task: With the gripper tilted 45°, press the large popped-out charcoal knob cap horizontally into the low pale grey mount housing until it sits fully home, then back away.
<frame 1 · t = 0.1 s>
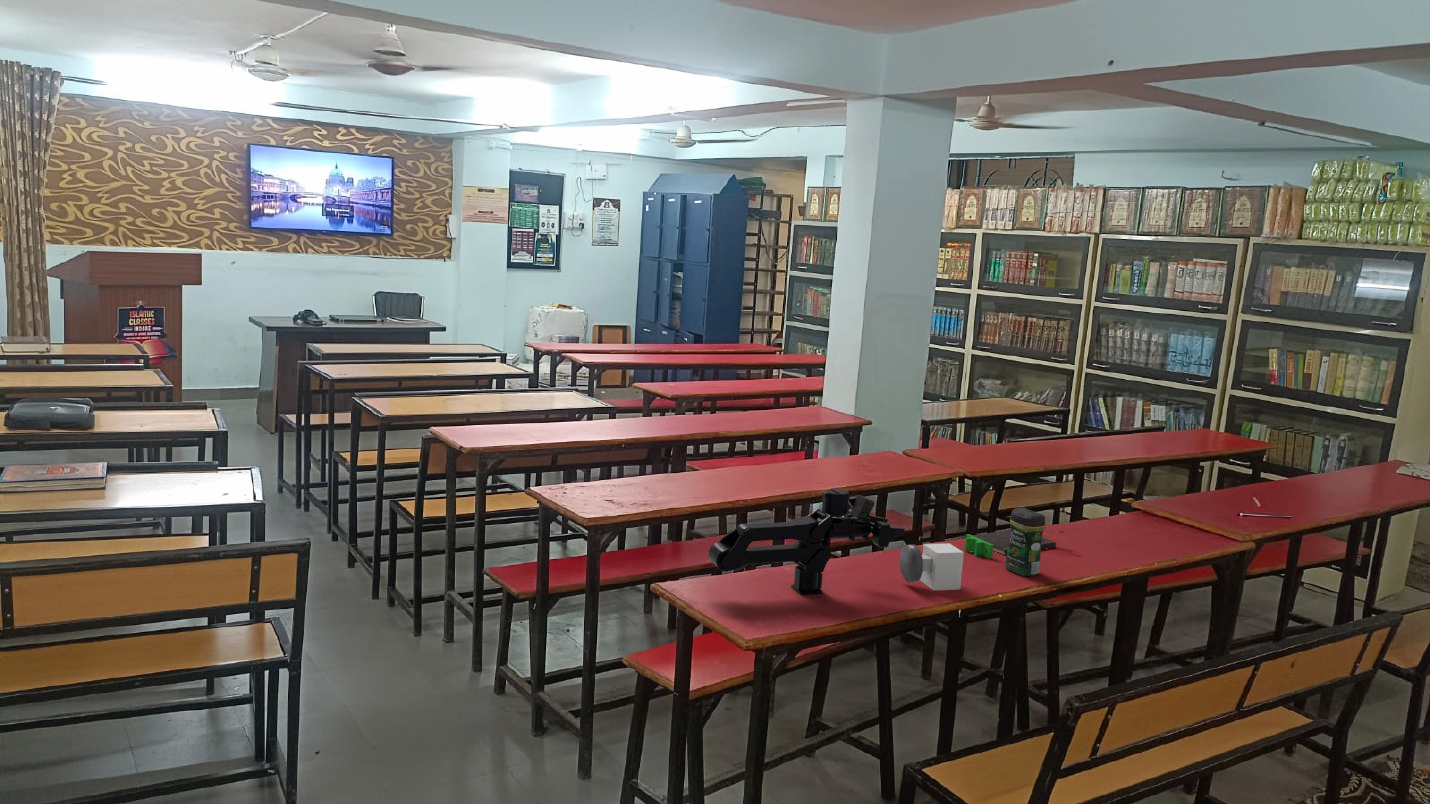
hand: (895, 525, 267), 17 cm above the table, tool horizontal, fingers open, 9 cm apart
mount housing: (926, 585, 270), on the table
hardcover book: (1011, 546, 313), on the table
coffee jar: (1021, 572, 286), on the table
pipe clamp: (974, 554, 302), on the table
knob: (919, 562, 268), point 7 cm above the table, slide at 4.0 cm
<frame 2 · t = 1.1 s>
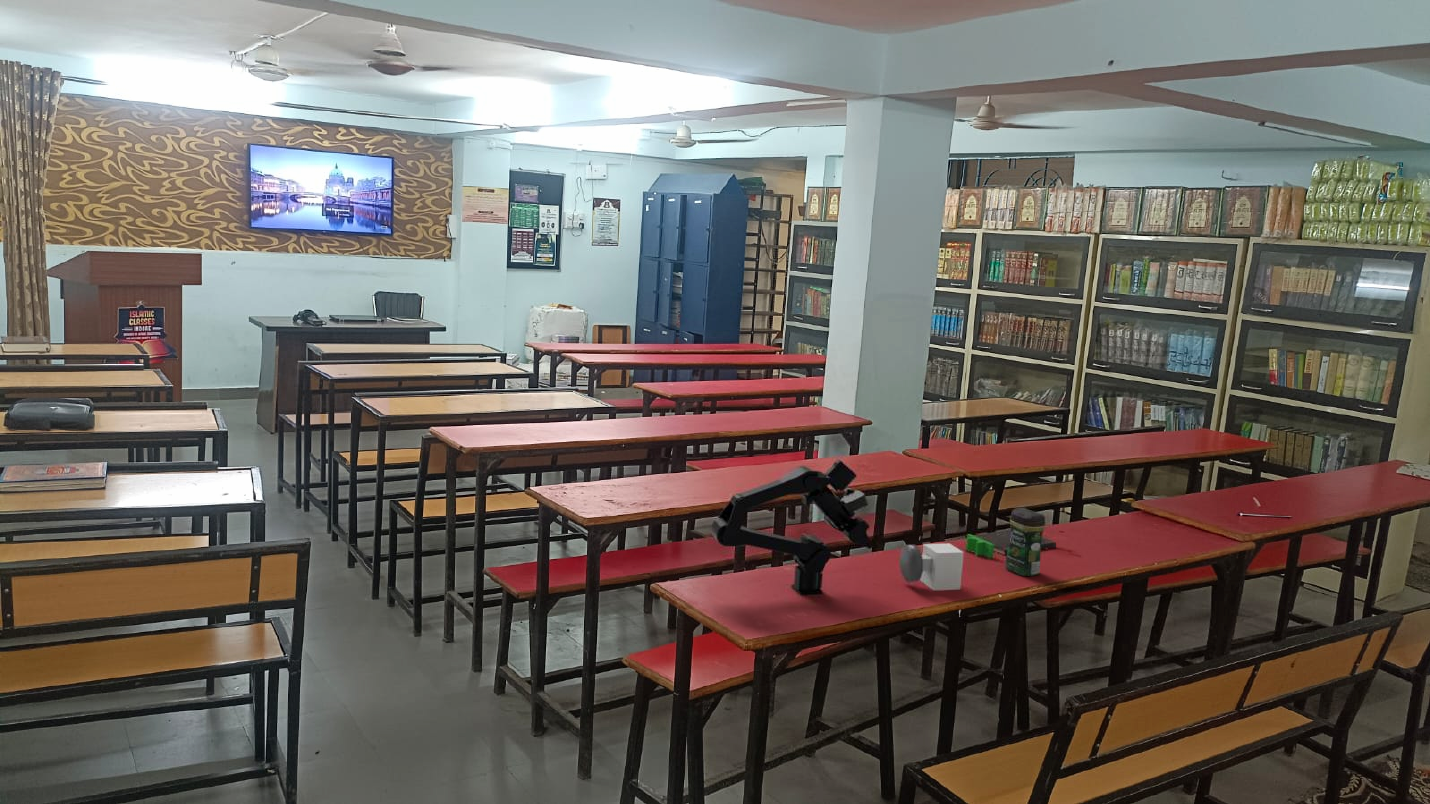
hand: (864, 542, 263), 13 cm above the table, tool tilted 45°, fingers open, 8 cm apart
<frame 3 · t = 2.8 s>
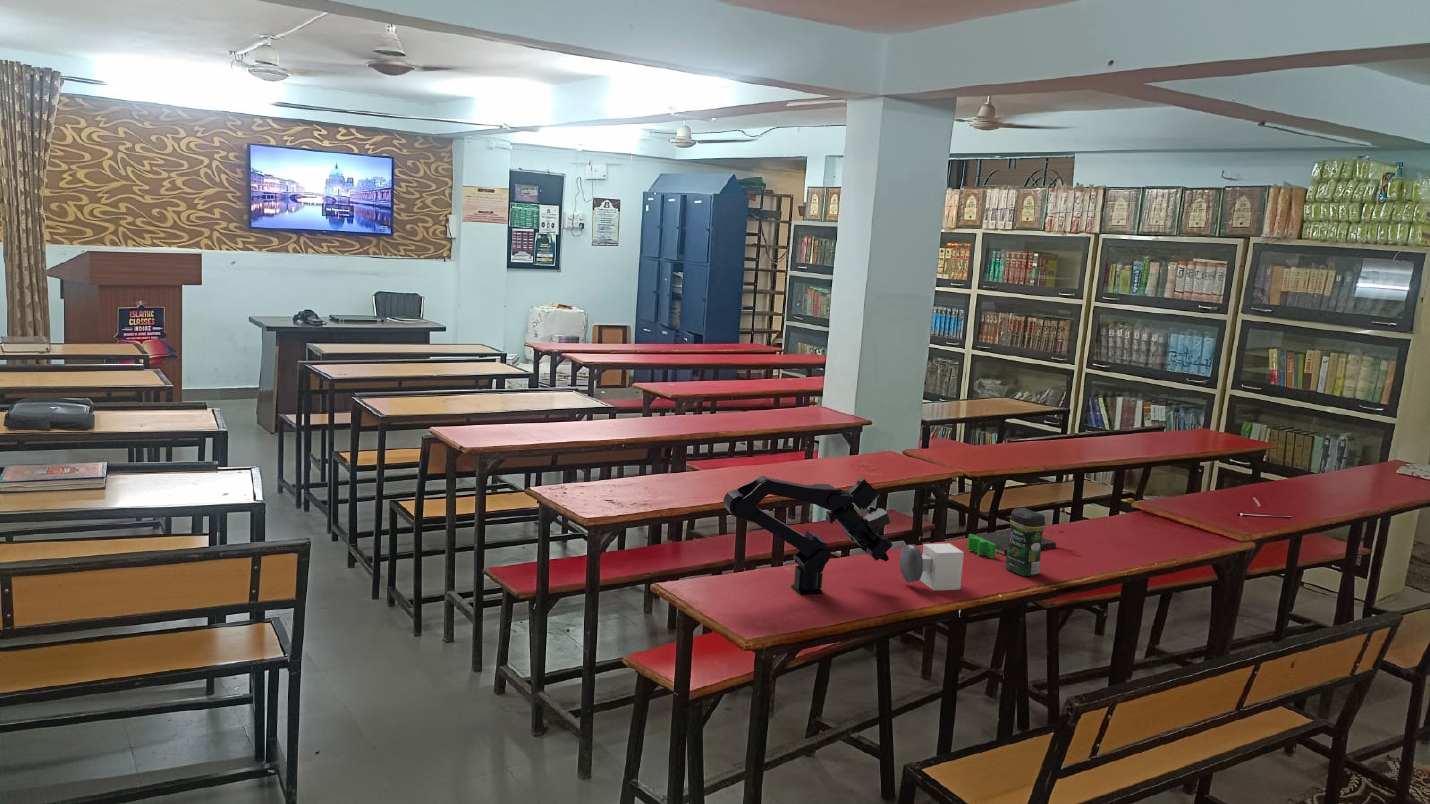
hand: (887, 559, 265), 8 cm above the table, tool tilted 45°, fingers closed
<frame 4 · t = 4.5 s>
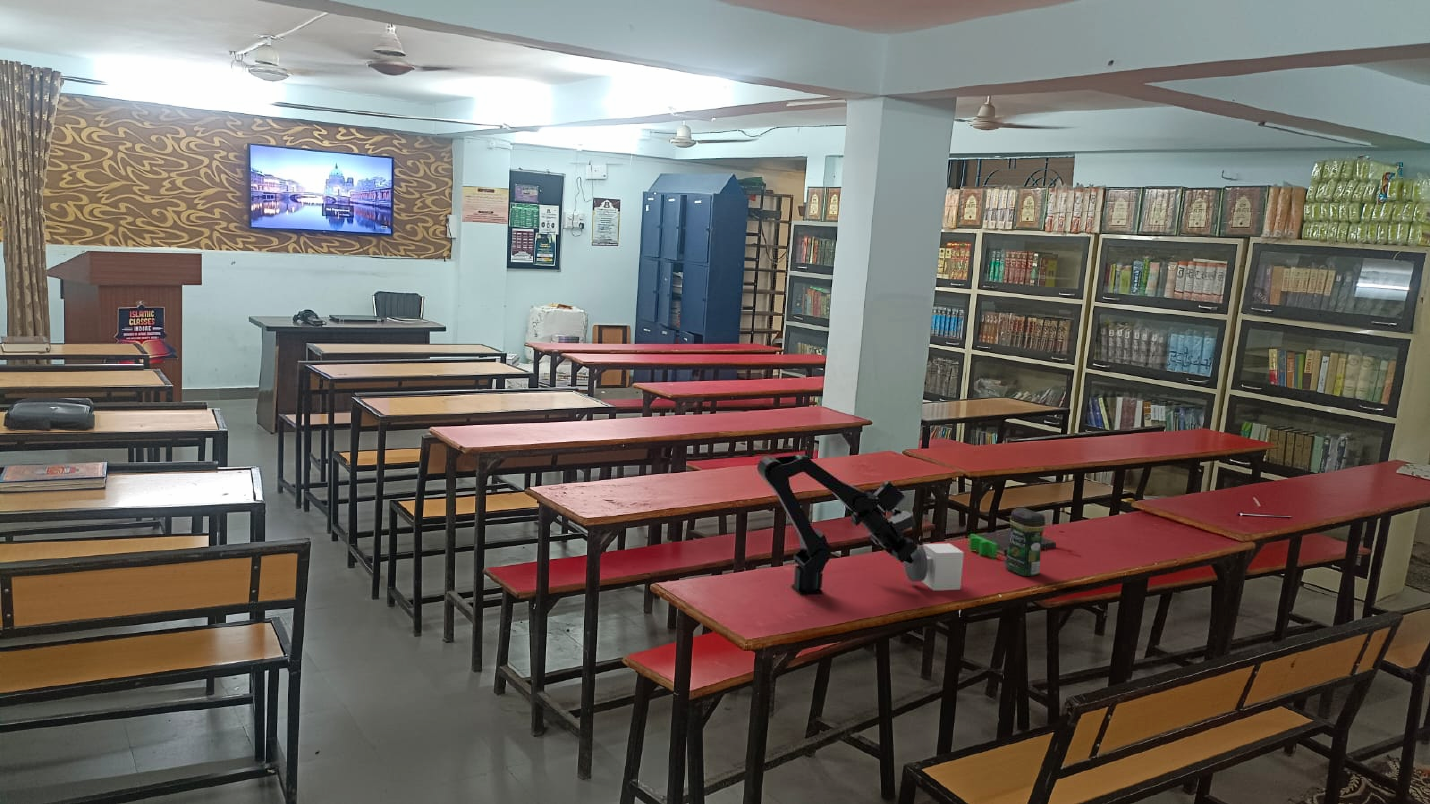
hand: (911, 561, 267), 7 cm above the table, tool tilted 45°, fingers closed, pressing on knob
knob: (924, 562, 268), point 7 cm above the table, slide at 2.6 cm, touching gripper
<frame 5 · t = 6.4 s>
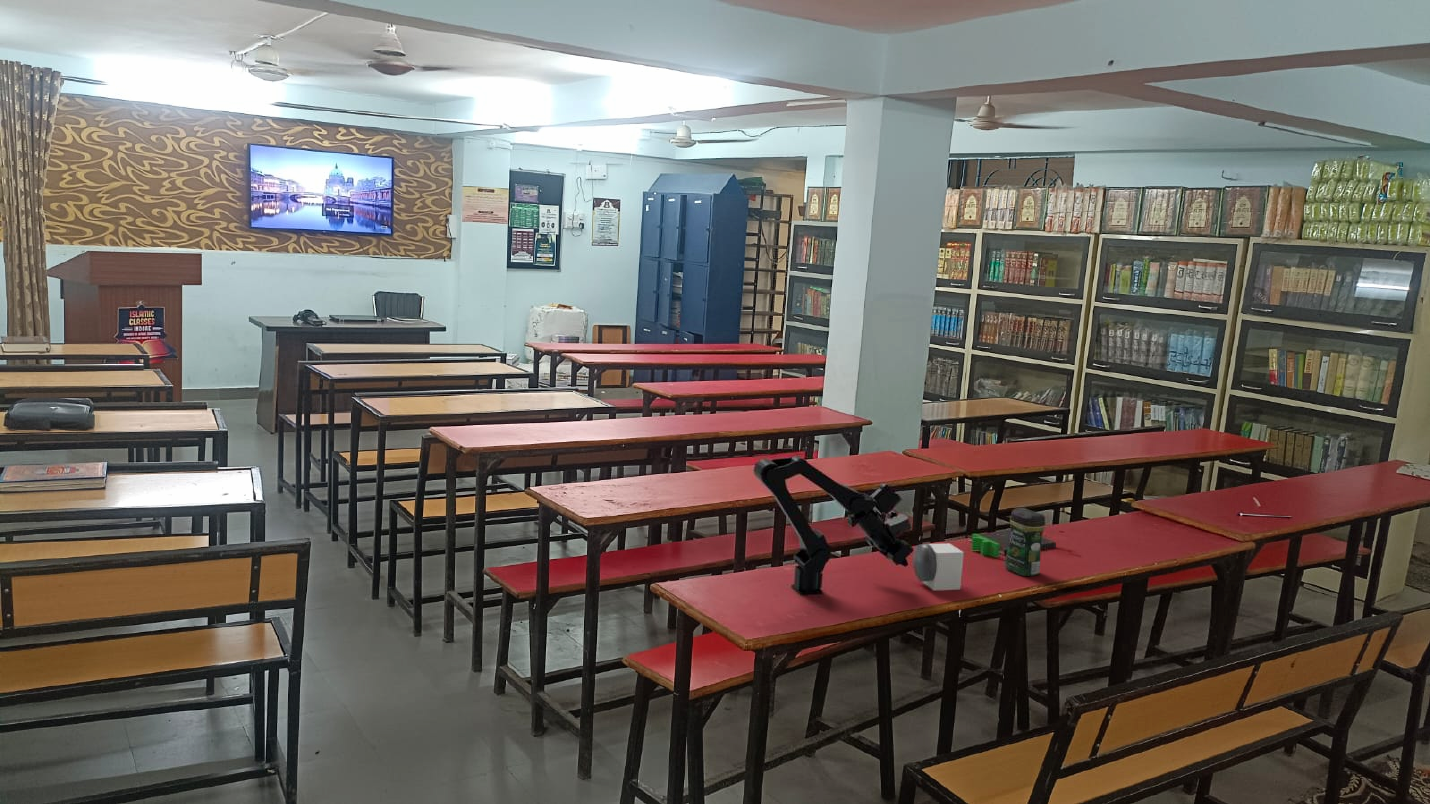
hand: (906, 565, 267), 6 cm above the table, tool tilted 45°, fingers closed
knob: (933, 562, 269), point 7 cm above the table, slide at -0.1 cm
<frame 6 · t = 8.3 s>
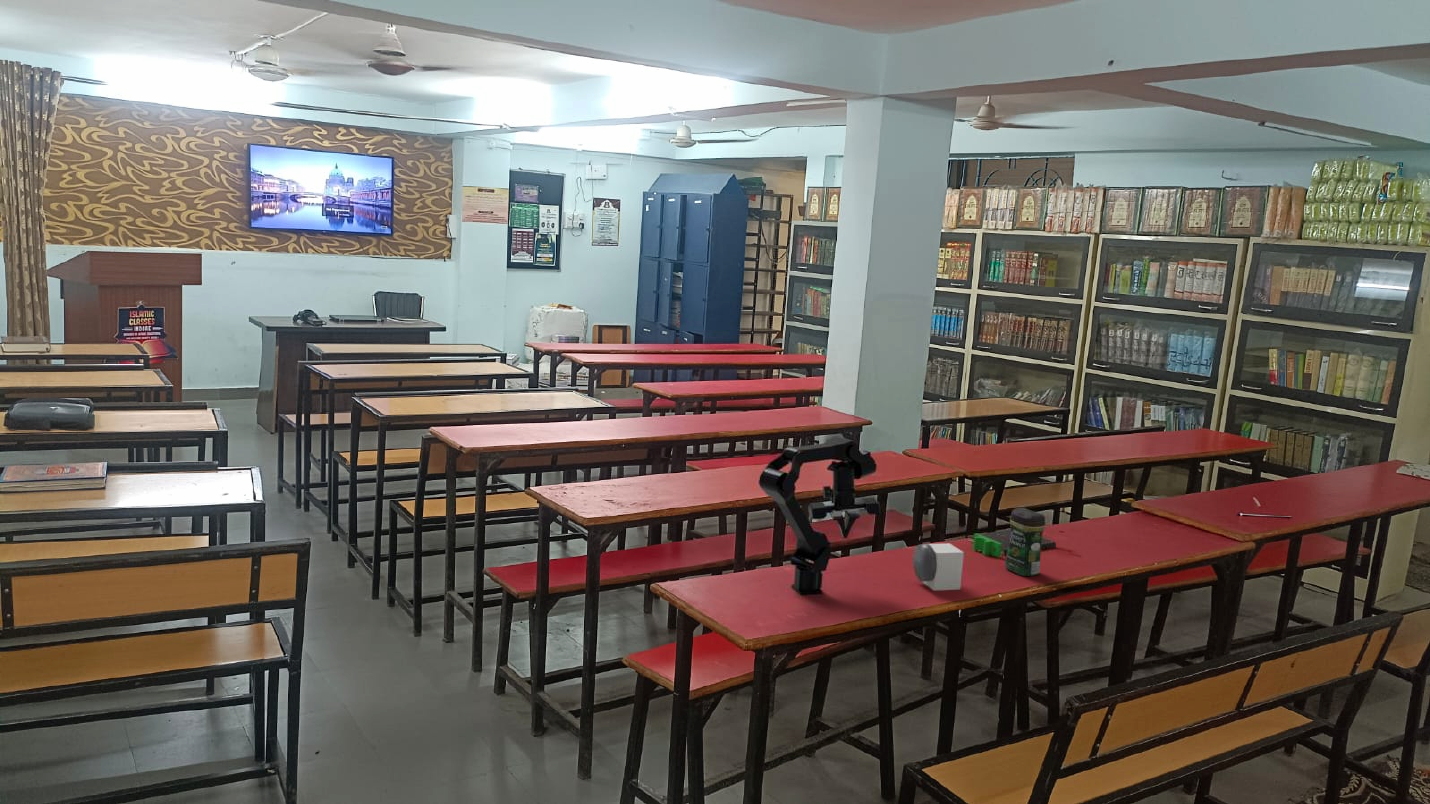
hand: (844, 537, 268), 12 cm above the table, tool pointing down, fingers closed
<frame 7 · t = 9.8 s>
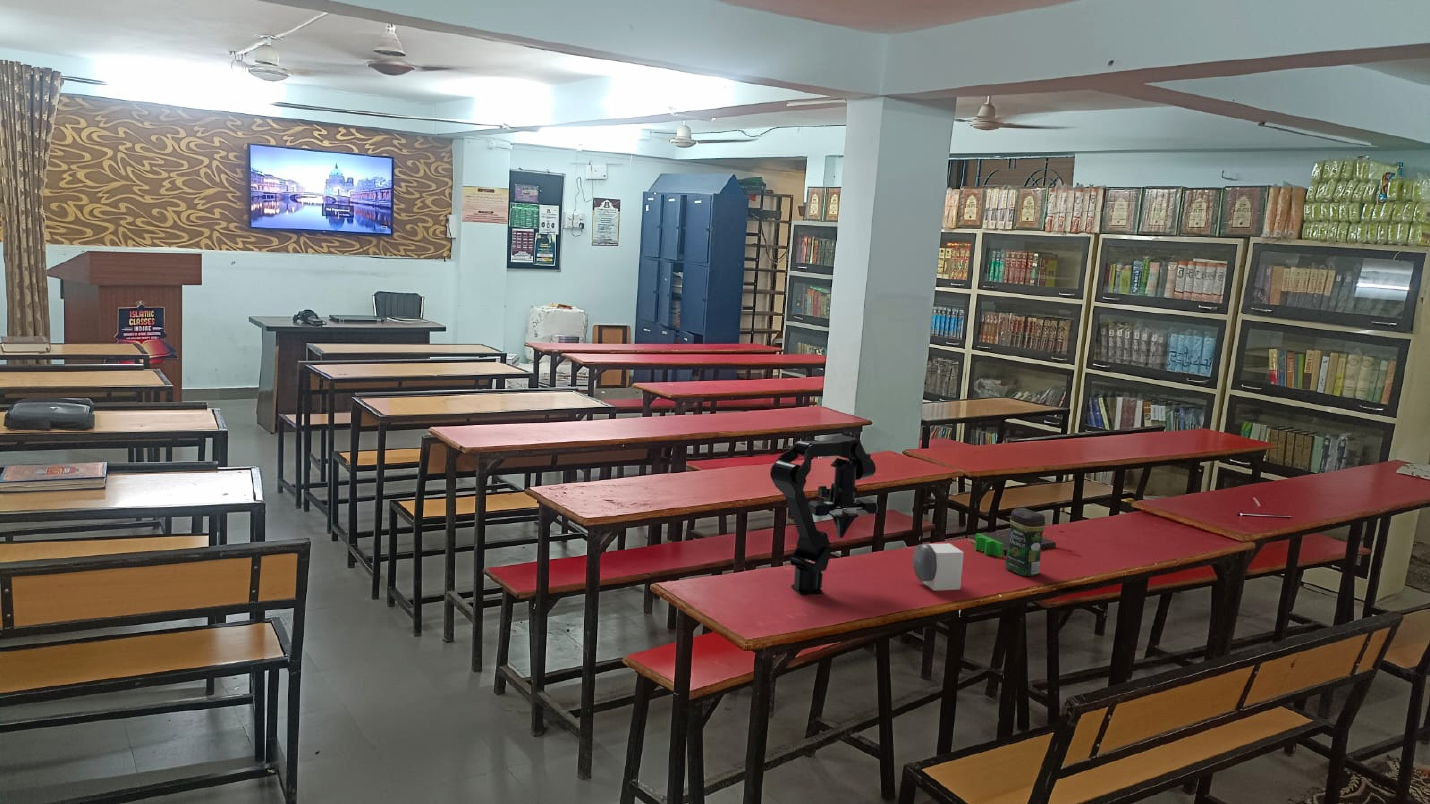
hand: (840, 537, 268), 12 cm above the table, tool pointing down, fingers closed
at the end: knob slide at -0.1 cm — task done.
